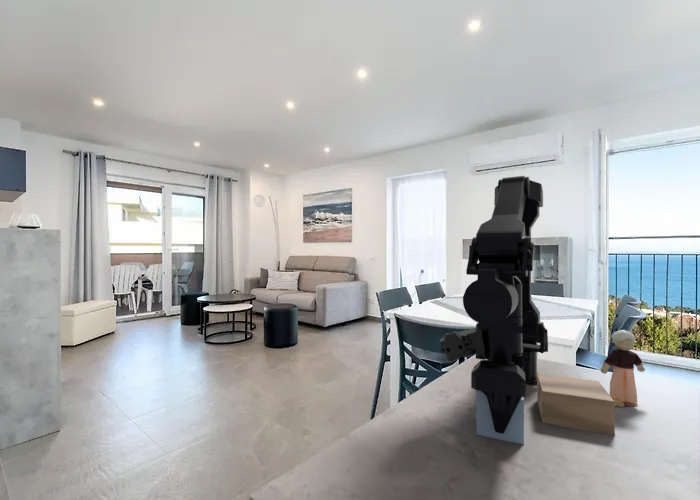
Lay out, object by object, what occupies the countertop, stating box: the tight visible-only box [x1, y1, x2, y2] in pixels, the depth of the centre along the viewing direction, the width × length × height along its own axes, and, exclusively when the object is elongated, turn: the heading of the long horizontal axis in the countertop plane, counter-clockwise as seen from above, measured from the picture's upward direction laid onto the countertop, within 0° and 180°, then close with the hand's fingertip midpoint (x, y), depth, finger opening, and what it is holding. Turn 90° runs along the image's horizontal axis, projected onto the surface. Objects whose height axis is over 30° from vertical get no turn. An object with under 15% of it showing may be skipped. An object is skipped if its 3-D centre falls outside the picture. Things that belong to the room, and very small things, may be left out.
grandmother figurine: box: [599, 329, 646, 407], centre depth 60 cm, size 8×4×13 cm, turn 105°
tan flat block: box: [536, 372, 616, 436], centre depth 55 cm, size 9×9×5 cm
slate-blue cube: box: [475, 390, 525, 446], centre depth 50 cm, size 6×6×6 cm
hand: (500, 422), depth 50 cm, fingers open, 6 cm apart
